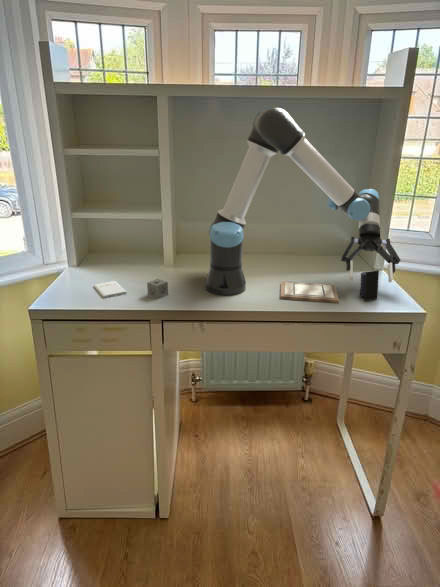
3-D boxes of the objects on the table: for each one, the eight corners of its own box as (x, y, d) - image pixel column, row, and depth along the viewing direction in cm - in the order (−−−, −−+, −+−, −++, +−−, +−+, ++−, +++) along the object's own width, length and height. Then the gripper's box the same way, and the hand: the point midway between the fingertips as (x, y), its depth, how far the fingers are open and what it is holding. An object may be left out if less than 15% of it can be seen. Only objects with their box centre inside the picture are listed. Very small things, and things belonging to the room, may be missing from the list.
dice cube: (147, 295, 148) (147, 282, 146) (158, 291, 151) (157, 278, 149) (158, 299, 145) (157, 285, 143) (168, 294, 149) (167, 281, 147)
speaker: (381, 300, 146) (383, 271, 143) (364, 301, 146) (366, 272, 143) (373, 294, 153) (375, 266, 150) (357, 294, 153) (359, 267, 150)
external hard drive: (104, 300, 145) (94, 288, 155) (126, 295, 149) (115, 284, 159) (103, 295, 144) (93, 284, 154) (126, 291, 148) (115, 280, 158)
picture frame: (280, 298, 146) (280, 295, 146) (281, 283, 160) (281, 280, 160) (338, 303, 144) (339, 299, 143) (334, 287, 158) (334, 284, 157)
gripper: (401, 234, 157) (404, 286, 149) (333, 231, 161) (333, 281, 153) (407, 224, 150) (411, 277, 143) (336, 221, 154) (336, 273, 146)
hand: (370, 279), depth 148 cm, fingers open, 13 cm apart
